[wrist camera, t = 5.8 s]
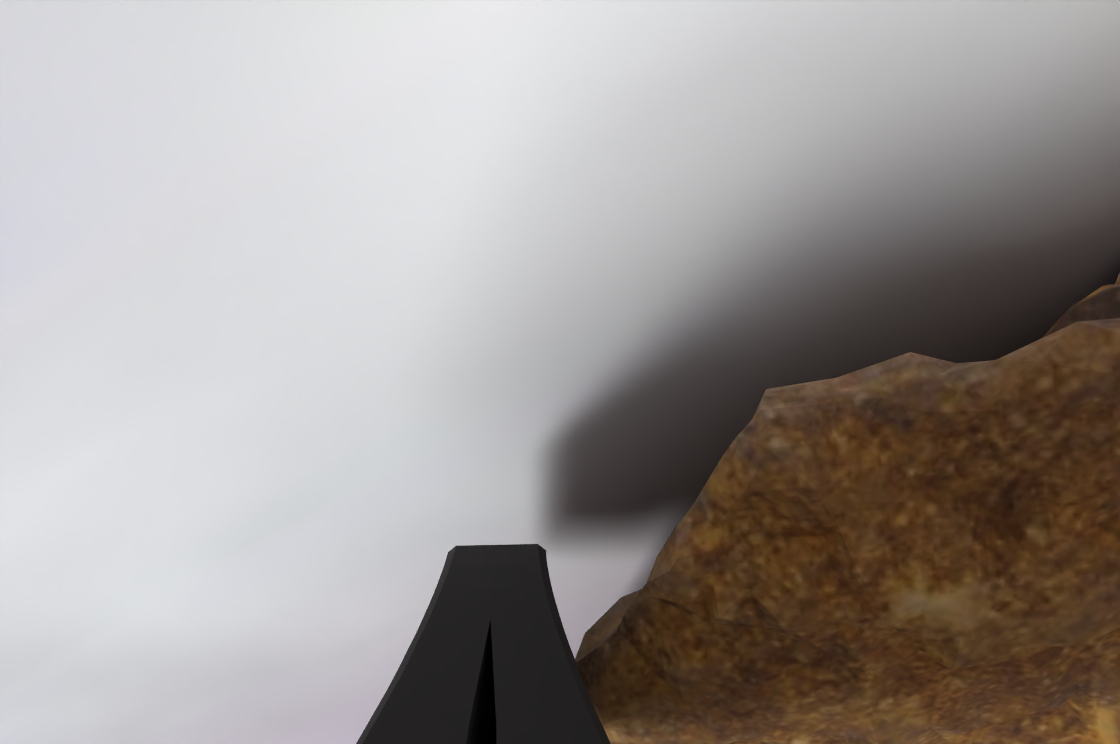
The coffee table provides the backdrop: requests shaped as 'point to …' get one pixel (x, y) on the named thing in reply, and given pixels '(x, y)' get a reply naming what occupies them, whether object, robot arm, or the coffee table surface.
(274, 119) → the coffee table surface
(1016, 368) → the decorative rock
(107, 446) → the coffee table surface
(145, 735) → the coffee table surface
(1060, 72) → the coffee table surface
